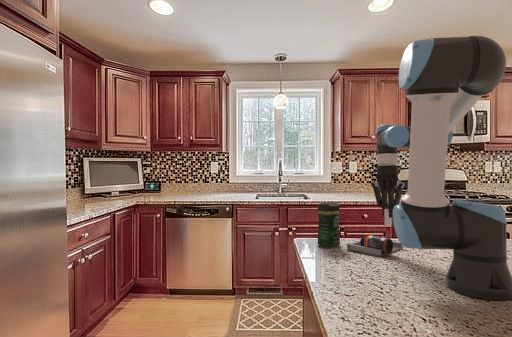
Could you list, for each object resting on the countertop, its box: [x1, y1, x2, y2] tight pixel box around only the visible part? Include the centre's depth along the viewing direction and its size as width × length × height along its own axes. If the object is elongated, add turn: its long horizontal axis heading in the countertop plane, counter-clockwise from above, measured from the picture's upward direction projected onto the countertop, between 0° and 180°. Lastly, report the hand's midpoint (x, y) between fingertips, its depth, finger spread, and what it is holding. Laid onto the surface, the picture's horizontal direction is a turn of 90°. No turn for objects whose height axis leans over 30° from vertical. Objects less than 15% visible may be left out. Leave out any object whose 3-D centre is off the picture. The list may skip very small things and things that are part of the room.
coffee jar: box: [317, 201, 341, 249], centre depth 136 cm, size 10×8×19 cm
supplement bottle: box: [359, 234, 393, 255], centre depth 123 cm, size 6×6×11 cm
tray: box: [346, 240, 404, 258], centre depth 128 cm, size 18×14×2 cm
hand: (388, 225), depth 124 cm, fingers closed
